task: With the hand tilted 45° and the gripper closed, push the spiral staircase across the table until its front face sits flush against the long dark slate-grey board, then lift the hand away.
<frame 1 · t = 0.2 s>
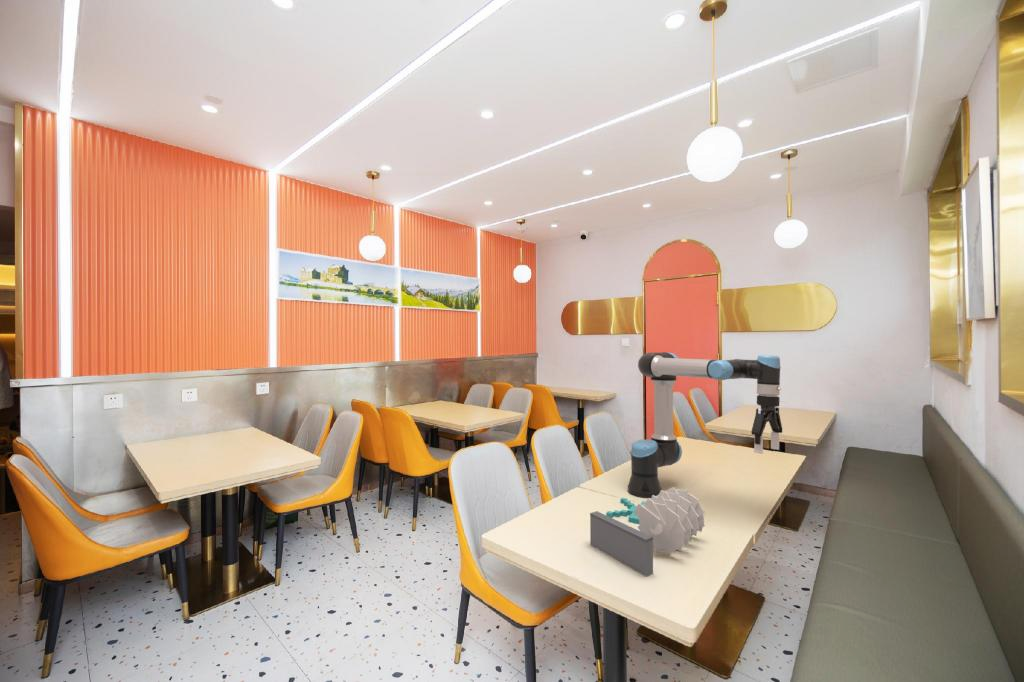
hand: (766, 451, 165), 28 cm above the table, tool pointing down, fingers open, 13 cm apart
alien figure: (638, 515, 174), on the table
spiral staircase: (670, 544, 148), on the table
slate board: (619, 558, 138), on the table
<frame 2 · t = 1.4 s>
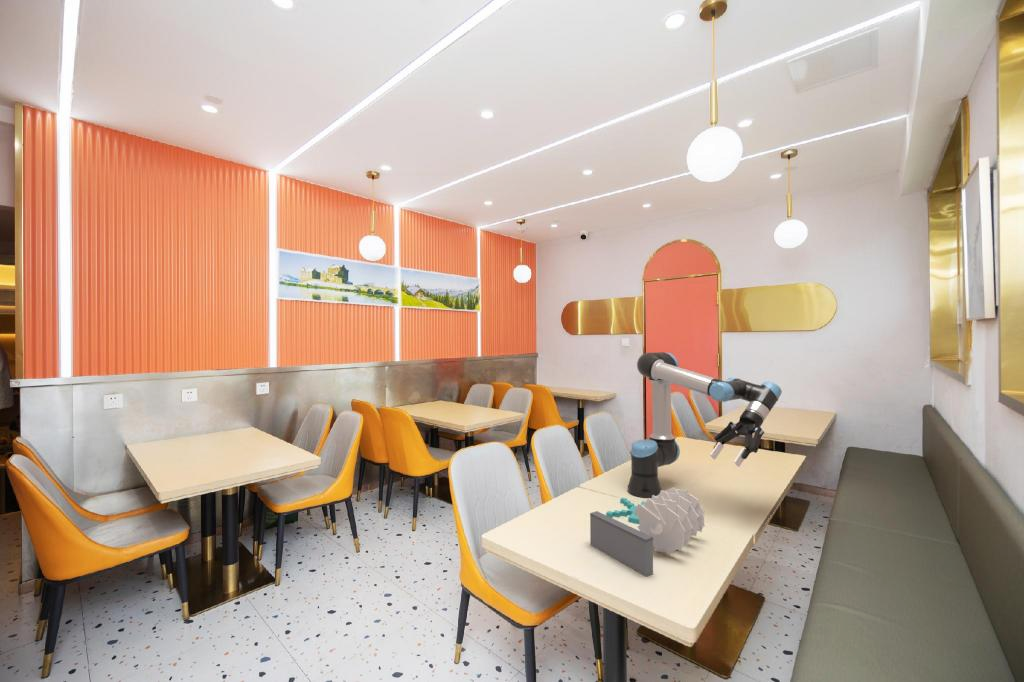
hand: (724, 460, 161), 25 cm above the table, tool tilted 45°, fingers open, 10 cm apart
nothing on the table moved.
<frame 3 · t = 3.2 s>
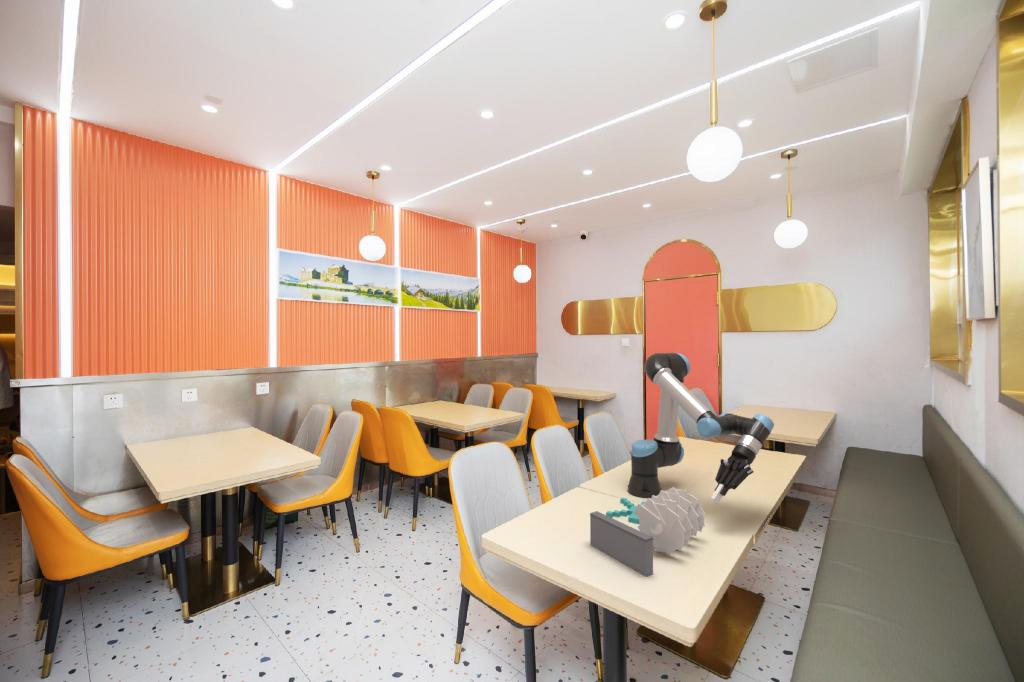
hand: (714, 501, 156), 12 cm above the table, tool tilted 45°, fingers closed
nothing on the table moved.
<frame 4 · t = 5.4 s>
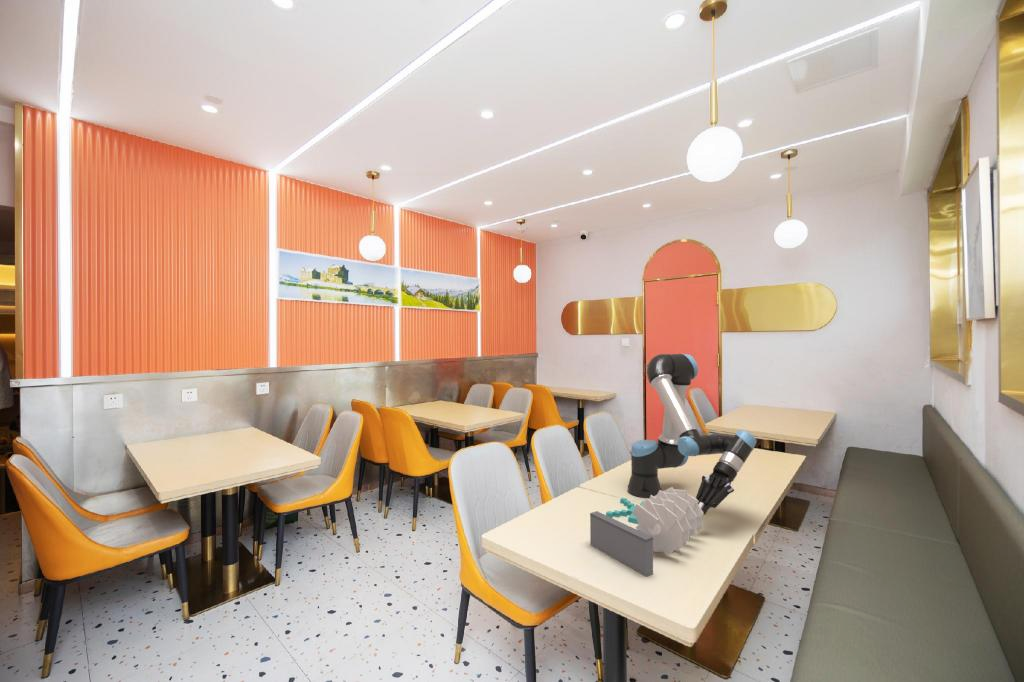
hand: (694, 519, 154), 6 cm above the table, tool tilted 45°, fingers closed
spiral staircase: (669, 544, 148), on the table, touching gripper
everything else where it was.
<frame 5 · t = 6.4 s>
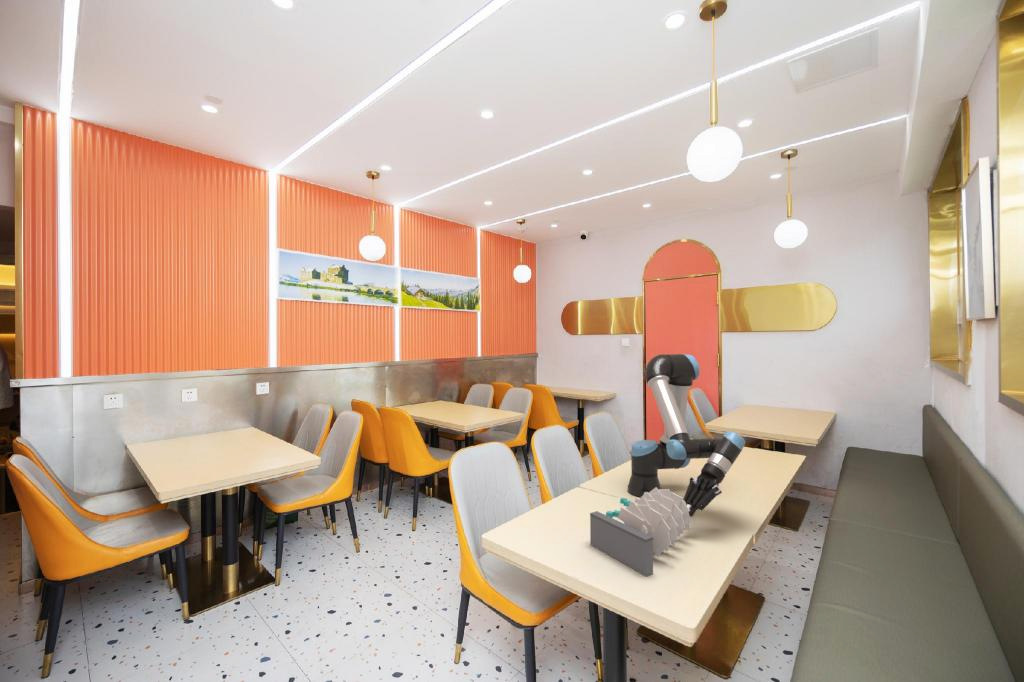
hand: (681, 521, 152), 6 cm above the table, tool tilted 45°, fingers closed
spiral staircase: (659, 546, 145), on the table, touching gripper
everything else where it was.
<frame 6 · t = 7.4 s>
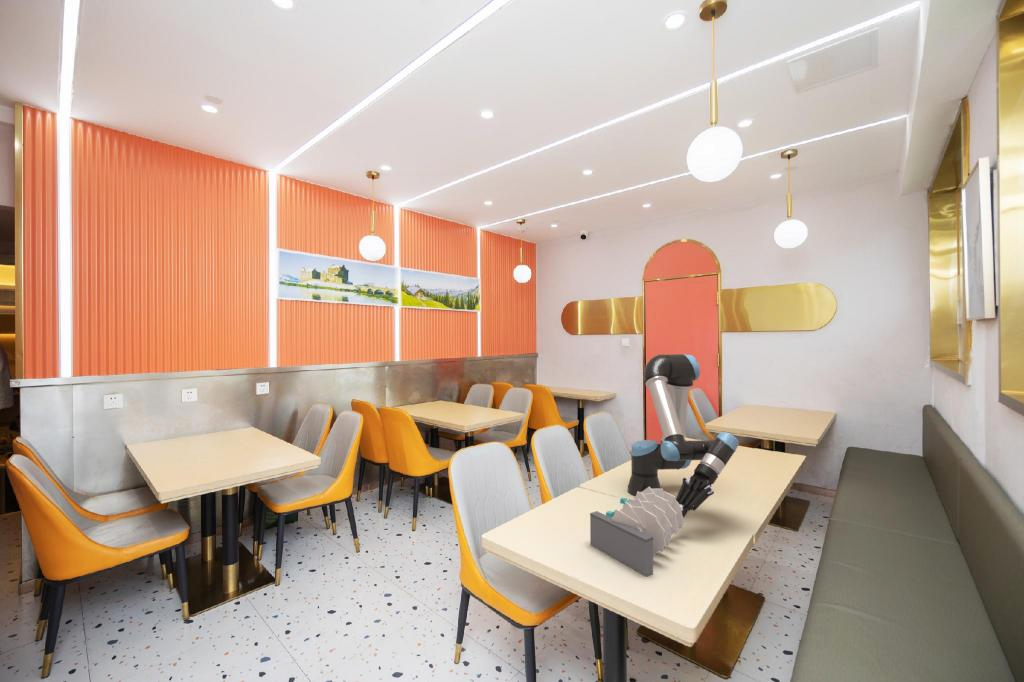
hand: (673, 522, 151), 6 cm above the table, tool tilted 45°, fingers closed
spiral staircase: (653, 545, 145), on the table, touching gripper, slate board
everything else where it was.
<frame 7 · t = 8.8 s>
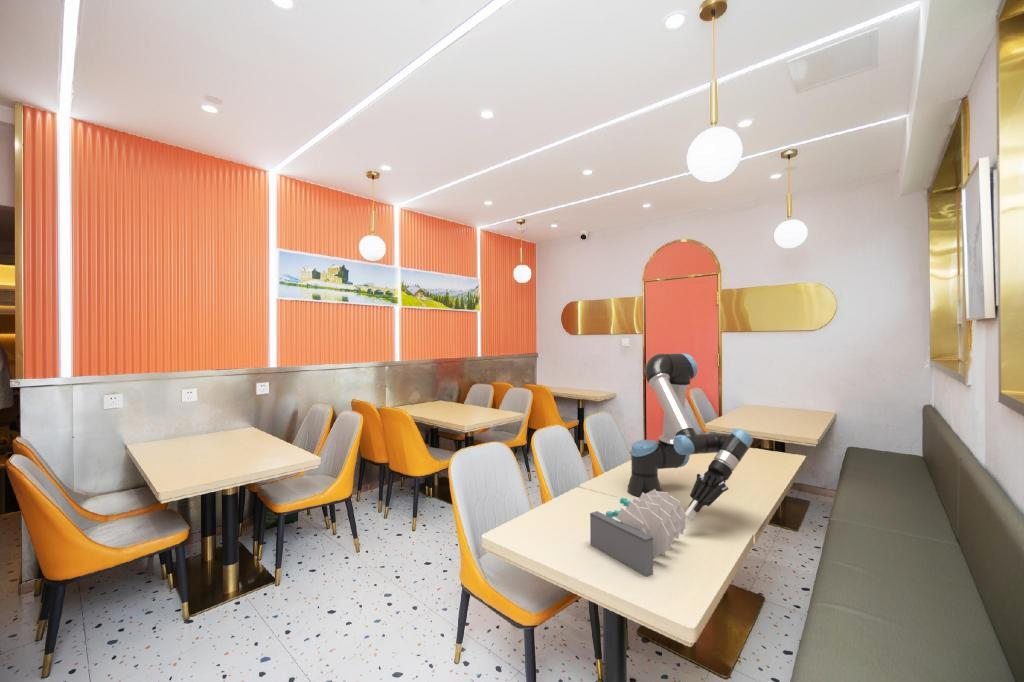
hand: (687, 517, 154), 7 cm above the table, tool tilted 45°, fingers closed
spiral staircase: (652, 548, 145), on the table
everything else where it was.
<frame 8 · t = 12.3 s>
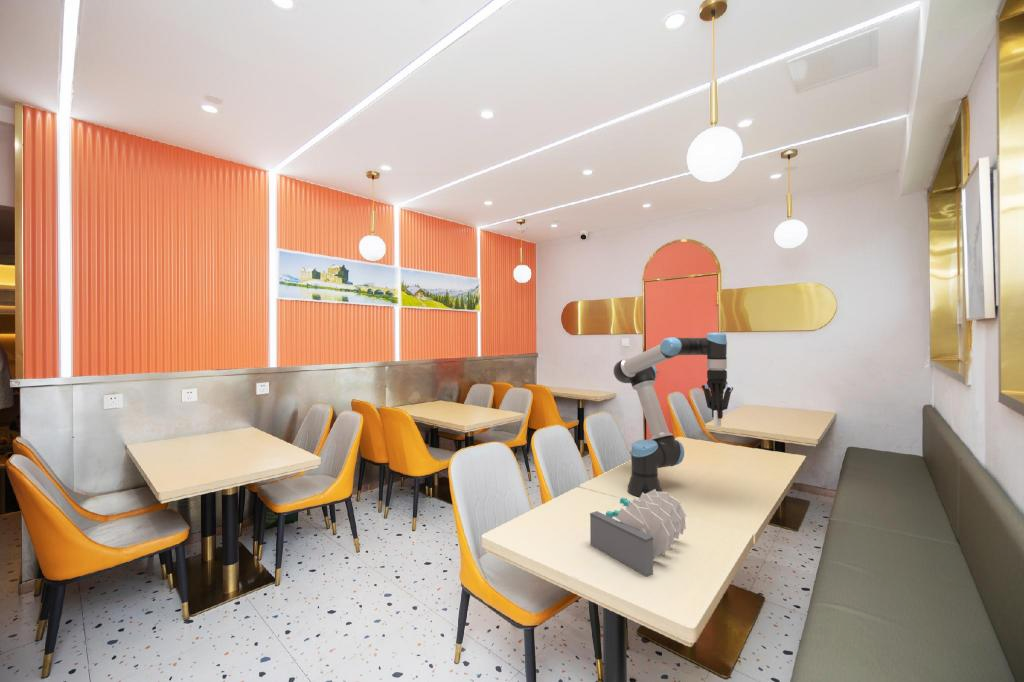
hand: (717, 426, 180), 34 cm above the table, tool pointing down, fingers closed
nothing on the table moved.
at the end: spiral staircase inside the target area on the table beside the slate board (1.2 cm from its centre), on the table; spiral staircase tilted 0°; spiral staircase moved 7.6 cm from its start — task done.
